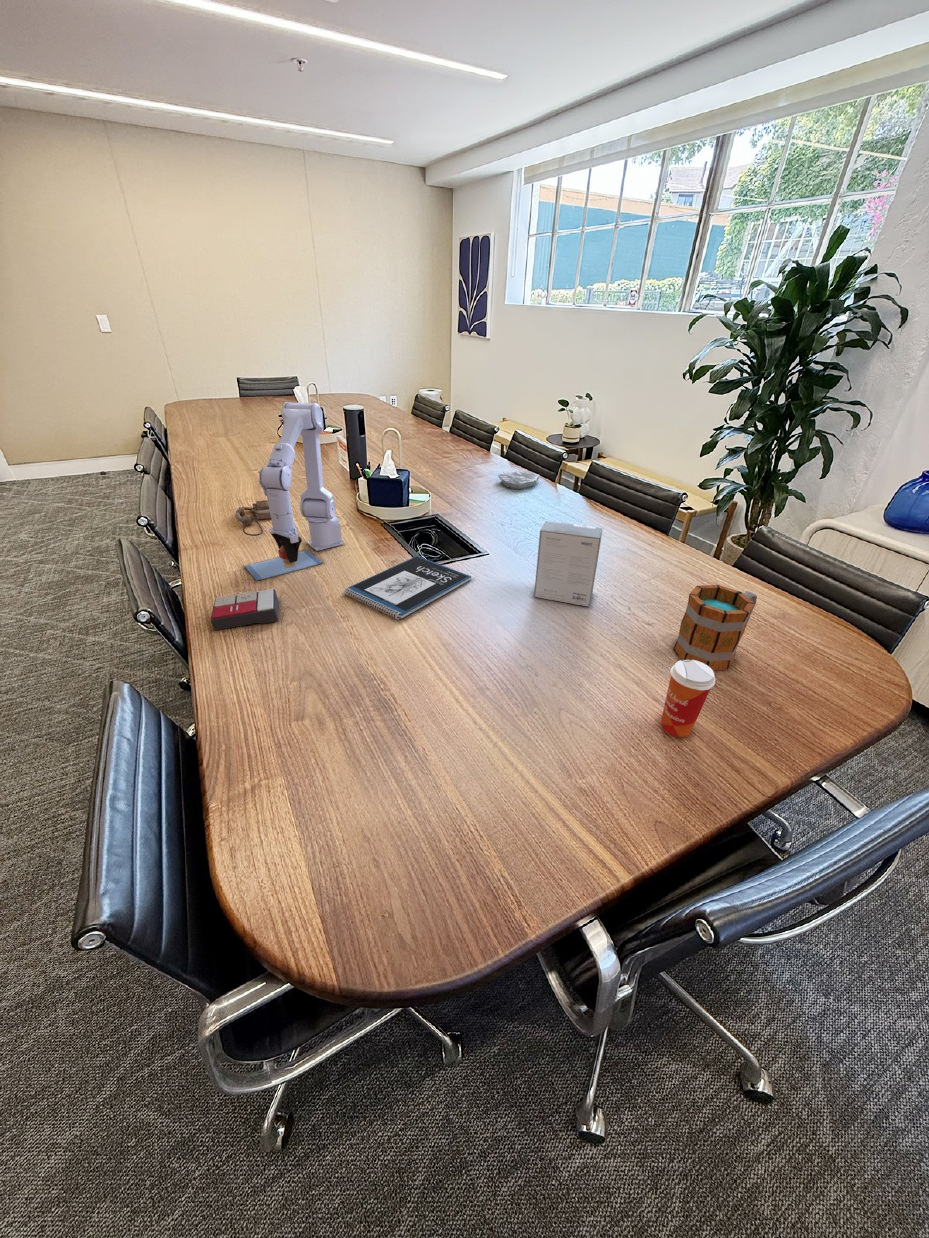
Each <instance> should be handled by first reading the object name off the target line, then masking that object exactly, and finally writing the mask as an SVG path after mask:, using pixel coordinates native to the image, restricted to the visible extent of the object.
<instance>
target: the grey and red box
mask: <svg viewBox="0 0 929 1238" xmlns="http://www.w3.org/2000/svg"><path fill="white" fill-rule="evenodd" d="M276 591H277V590H276V589H275V588H274V589H273V588H270V589H264V590H259V591H257V590H253V591H248V592H242V593H237V594H230V595H223V596H218V597H216V598H215V599H214V601H213V606H212V612H211V616H210V622H211V625H212V626H211V627H212V628H213V631H219V630H226V629H231V628H236V627H237V628H238V627H241V626H247V625H253V624H262V625H264V624H271V623H276V622H278V621H279V598H278V595H277V592H276Z"/></svg>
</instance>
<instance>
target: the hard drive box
mask: <svg viewBox="0 0 929 1238" xmlns="http://www.w3.org/2000/svg"><path fill="white" fill-rule="evenodd" d="M603 530H604V528H603V527H597V526H590V525H581V524H575V523H566V522H565V523H564V522H559V521H558V522H557V521H550V520H549V521H548V520H545V521H544V523H543V524H542V526H541V528H540V530H539V539H538V548H537V549H538V551H537V560H536V561H537V562H536V569H535V570H536V572H535V582H534V593H533V597H534V598H537V599H538V598H539V599H543V600H544V599H545V600H548V601H555V602H560V603H566V604H571V605H577V606H584V607H589V606H591V602H592V598H593V593H594V586H595V580H596V575H597V574H596V573H597V567H598V561H599V556H600V555H599V554H600V549H601V543H602V536H603Z"/></svg>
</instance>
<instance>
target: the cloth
mask: <svg viewBox="0 0 929 1238" xmlns="http://www.w3.org/2000/svg"><path fill="white" fill-rule="evenodd" d="M322 564H323V562H322V561H321V560H320V559H319V558H317V556H316V555H315V554H313V553H312V552H311V551H309V550H308V549H307V550H303V551H298V560H297V566H295V567H292V568H286V567H284V563H283V559H281V558H280V557H279V556H278V557H275V558H272V559H268V560H264V561H260V562H256V563H251V564H247V565H244V568H245V569H246V571H247V572H248V573H249V574H250V575H251V576H252V577H253V578H254V580H255V581H256V582H258V581H259V582H260V581H262V580H266V579H270V578H273V577H277V576H280V575H281V576H282V575H284V574H288V573H289V574H290V573H292V572H296V571H299V570H300V571H301V570H303V569H307V568H311V567H314V566H318V565H322Z"/></svg>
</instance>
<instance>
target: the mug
mask: <svg viewBox="0 0 929 1238" xmlns="http://www.w3.org/2000/svg"><path fill="white" fill-rule="evenodd" d="M757 599H758V595H757V594H756V593H754V592H752V591H747V590H746V591H745V592H742V591H740V590H737V589H734V588H730V587H726V586H723V585H720V584H705V585H701V584H700V585H695V587H694V588H693V589H692V590H691V591H690V593H688V600H687V605H686V609H685V612H684V615H683V617H682V619H681V622H680V625H679V632H678V636H677V638H676V642H675V644H674V646H673V648H672V649H673V651H674V652H675V653H676V655H677V656H678V657H679V658H680V660H681V661H683V660H690V661H691V660H696V661H699V662H702V663H704V664H706V665H707V666H709V667H710V668H711V669H712V670H713V671H727V670H730V667H731V665H732V663H733V662H734V660H735V657H736V653H737V652H736V651H737V649H738V646H739V643H740V641H741V640H742V637H743V635H744V633H745V630H746V628H747V625H748V623H749V620H750V618H751V615H752V612H753V611H754V608H755V606H756V604H757Z"/></svg>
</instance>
